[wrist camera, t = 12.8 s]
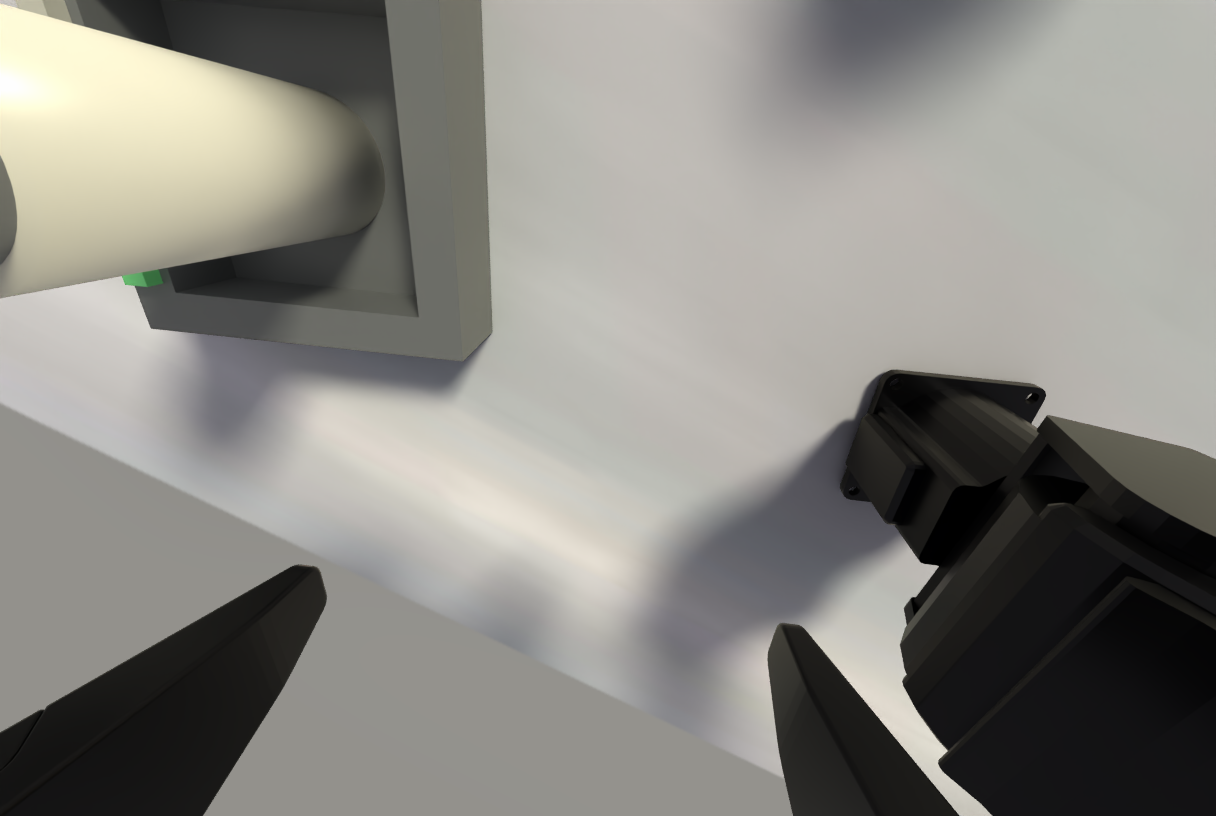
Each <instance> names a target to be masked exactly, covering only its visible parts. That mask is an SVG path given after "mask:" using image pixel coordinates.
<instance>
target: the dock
mask: <svg viewBox="0 0 1216 816" xmlns="http://www.w3.org/2000/svg"><path fill="white" fill-rule="evenodd" d="M15 1H16V4H17V6H18V9H22V10H25V11H29V12H33V13H36V14H40V15H44V16H47V17H51V18H55V19H58V20H62V21H66V22H69V23H73V24H77V25H80V26H84V27H88V28H91V29H95V30H99V31H102V32H106V33H110V34H113V35H117V36H121V37H124V38H128V39H132V40H135V41H139V42H143V43H146V44H150V45H154V46H157V47H161V48H165V49H168V50H172V51H176V52H179V53H183V54H187V55H190V56H194V57H198V58H201V59H205V60H209V61H212V62H216V63H220V64H223V65H227V66H231V67H234V68H238V69H242V70H245V71H249V72H253V73H256V74H260V75H264V76H267V77H271V78H275V79H278V80H282V81H286V82H289V83H293V84H297V85H300V86H304V87H308V88H311V89H315V90H319V91H321V92H324V93H327V94H329V95H331V96H333V97H335V98H337V99H338V100H340V101H341V102H343V103H344V104H346V105H347V106H348V107H349V108H350V109H351V110H353V111H354V112H355V113H356V114H357V115H358V117H359V118H360V119H361V120H362V121H363V123H364V124H365V125H366V126H367V128H368V129H369V131H370V133H371V134H372V136H373V138H374V140H375V142H376V144H377V146H378V149H379V151H380V154H381V157H382V161H383V165H384V172H385V191H384V197H383V201H382V204H381V207H380V209H379V211H378V213H377V215H376V216H375V217H374V219H373V220H372V221H371V222H370V223H369V224H368V225H367V226H366V227H364V228H363V229H361V230H359V231H357V232H355V233H352V234H348V235H343V236H337V237H332V238H326V239H321V240H315V241H310V242H304V243H299V244H294V245H288V246H283V247H277V248H272V249H266V250H261V251H255V252H250V253H244V254H239V255H234V256H228V257H223V258H217V259H212V260H206V261H201V262H195V263H190V264H184V265H179V266H174V267H168V268H163V269H157V270H152V271H146V272H141V273H135V274H130V275H124V276H122V278H123V280H124V283H125V285H133V286H135V288H136V290H137V293H138V296H139V298H140V301H141V304H142V306H143V309H144V312H145V314H146V317H147V319H148V322H149V325H150V327H151V329H160V330H170V331H179V332H189V333H198V334H208V335H217V336H227V337H236V338H245V339H255V340H264V341H274V342H283V343H293V344H302V345H312V346H321V347H331V348H340V349H349V350H359V351H368V352H378V353H387V354H397V355H406V356H416V357H425V358H435V359H444V360H453V361H464V360H465V359H466V358H467V357H468V356H469V355H470V354H471V353H472V352H473V351H474V350H475V349H476V348H477V347H478V346H479V345H480V344H481V343H482V342H483V341H484V340H485V339H486V338H487V337H488V336H489V335H490V334H491V333H492V308H491V279H490V249H489V220H488V190H487V160H486V131H485V101H484V72H483V42H482V12H481V0H15Z"/></svg>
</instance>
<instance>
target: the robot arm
mask: <svg viewBox="0 0 1216 816" xmlns="http://www.w3.org/2000/svg"><path fill="white" fill-rule="evenodd" d="M895 379H898V382H897V384H895V385H894V386H890V383H891V382H892V381H893V380H895ZM1031 393H1032V395H1031V396H1030V397H1029V398H1028V399H1026V400H1025V398H1026V397H1027V396H1028V395H1029V394H1031ZM1045 397H1046V393H1045V391H1044V390H1043V389H1042V388H1040V387H1038V386H1036V385H1034V384H1030V383H1021V382H1011V381H1001V380H991V379H982V378H972V377H962V376H953V375H943V374H933V373H923V372H914V371H904V370H890V371H888V372H886V373H885V374H884V375H882V377H881V379H880V381H879V384H878V386H877V389H876V392H875V394H874V397H873V400H872V402H871V405H870V408H869V410H868V413H867V414H866V415H865V416H864V417H863V418H862V420H861V423H860V425H859V428H858V431H857V433H856V436H855V439H854V441H853V444H852V447H851V449H850V452H849V455H848V457H847V460H846V466H847V469H846V471H845V474H844V477H843V479H842V482H841V484H840V490H841V492H842V493H843V495H844V496H845V497H846V498H847V499H850V500H858V501H867V502H872V504H873V505H874V507H875V508H876V510H877V511H878V513H879V514H880V516H881V517H882V519H883V520H884V521H885V523H887V524H890V525H895V527H896V528H897V529H898V531H899V532H900V534H901V535H902V537H903V538H904V539H905V541H906V542H907V544H908V545H909V547H910V548H911V549H912V551H913V552H914V554H915V555H916V557H917V558H918V559H919V561H920V562H921V563H924V564H931V565H937V566H939V567H938V569H937V570H936V571H935V573H934V574H933V575H932V577H931V578H930V579H929V581H928V582H927V583H926V585H925V586H924V587H923V589H922V590H921V591H920V593H919V594H918V595H917V597H912V598H911V599H910V600H909V602H908V603H907V604H906V606H905V607H904V612H905V617H906V623H907V626H906V628H905V630H904V634H903V637H902V640H901V643H900V647H901V652H902V658H903V663H904V668H905V671H906V674H907V675H906V676H905V677H904V678H903V681H902V682H903V686H904V688H905V690H906V691H907V693H908V695H909V697H910V699H911V701H912V703H913V705H914V706H915V708H916V710H917V712H918V713H919V715H920V716H921V718H922V719H923V720H924V722H925V723H926V724H927V726H928V727H929V729H930V730H931V731H932V733H933V734H934V735H935V737H936V738H937V739H938V741H939V742H940V743H941V744H942V745H943V746H944V747H945V748H946V749H947V750H948V752H947V753H945V754H944V755H943V756H942V757H941V758H940V759H939V760H938V764H939V766H940V768H941V770H942V771H943V772H944V773H945V774H946V775H947V776H949V777H950V778H951V779H952V780H953V781H955V782H956V783H957V784H958V785H959V786H960V787H962V788H963V789H964V790H965V791H966V792H968V793H969V794H970V795H971V796H972V797H974V798H975V799H976V800H977V801H978V802H980V803H981V804H982V805H983V806H984V807H985V808H986V809H987V811H988V812H989V813H990V814H991V815H992V816H1216V459H1214V458H1211V457H1209V456H1207V455H1205V454H1202V453H1200V452H1198V451H1195V450H1192V449H1189V448H1186V447H1182V446H1178V445H1173V444H1169V443H1165V442H1161V441H1156V440H1152V439H1148V438H1144V437H1139V436H1135V435H1131V434H1127V433H1122V432H1118V431H1114V430H1110V429H1105V428H1101V427H1097V426H1093V425H1089V424H1084V423H1080V422H1076V421H1072V420H1067V419H1063V418H1059V417H1055V416H1050V415H1047V416H1046V418H1045V419H1044V420H1043V422H1042V423H1041V424H1040V426H1039V427H1038V428H1036V427H1035V426H1033V425H1032V424H1031V423H1032V421H1033V419H1034V418H1035V416H1036V414H1037V412H1038V411H1039V409H1040V407H1041V405H1042V404H1043V402H1044V400H1045ZM852 487H856V488H855V489H854V490H849V489H850V488H852ZM326 600H327V595H326V590H325V587H324V583H323V579H322V576H321V572H320V570H319V569H318V568H317V567H315V566H309V565H294V566H292V567H290V568H288V569H286V570H284V571H283V572H281V573H279V574H278V575H276V576H274V577H272V578H270V579H269V580H267V581H265V582H263V583H262V584H260V585H258V586H256V587H255V588H253V589H251V590H249V591H248V592H246V593H244V594H242V595H241V596H239V597H237V598H235V599H234V600H232V601H230V602H229V603H227V604H225V605H223V606H221V607H220V608H218V609H216V610H214V611H213V612H211V613H209V614H207V615H206V616H204V617H202V618H201V619H199V620H197V621H195V622H193V623H192V624H190V625H188V626H186V627H185V628H183V629H181V630H179V631H178V632H176V633H174V634H172V635H171V636H169V637H167V638H165V639H164V640H162V641H160V642H158V643H156V644H155V645H153V646H151V647H149V648H148V649H146V650H144V651H142V652H141V653H139V654H137V655H135V656H134V657H132V658H130V659H128V660H127V661H125V662H123V663H121V664H120V665H118V666H116V667H114V668H113V669H111V670H109V671H107V672H106V673H104V674H102V675H100V676H99V677H97V678H95V679H93V680H92V681H90V682H88V683H87V684H85V685H83V686H81V687H79V688H78V689H76V690H74V691H72V692H71V693H69V694H67V695H65V696H64V697H62V698H60V699H58V700H56V701H55V702H53V703H51V704H49V705H48V706H47V707H46V709H45V710H39V711H37V712H35V713H33V714H32V715H30V716H28V717H26V718H25V719H23V720H21V721H20V722H18V723H16V724H14V725H12V726H11V727H9V728H7V729H5V730H4V731H2V732H0V816H203V815H204V813H205V812H206V810H207V809H208V807H209V805H210V804H211V802H212V800H213V799H214V797H215V796H216V794H217V793H218V791H219V789H220V788H221V786H222V785H223V783H224V781H225V780H226V778H227V777H228V775H229V774H230V772H231V770H232V769H233V767H234V766H235V764H236V762H237V761H238V759H239V758H240V756H241V754H242V753H243V751H244V750H245V748H246V746H247V745H248V743H249V742H250V740H251V739H252V737H253V735H254V734H255V732H256V731H257V729H258V727H259V726H260V724H261V723H262V721H263V720H264V718H265V716H266V715H267V713H268V712H269V710H270V708H271V707H272V705H273V704H274V702H275V700H276V699H277V697H278V695H279V694H280V692H281V690H282V689H283V687H284V685H285V683H286V682H287V680H288V678H289V676H290V674H291V672H292V670H293V669H294V667H295V665H296V663H297V661H298V658H299V657H300V655H301V653H302V651H303V649H304V647H305V645H306V643H307V641H308V639H309V637H310V635H311V633H312V631H313V629H314V627H315V625H316V623H317V621H318V620H319V617H320V615H321V614H322V612H323V610H324V607H325V605H326ZM768 669H769V677H770V685H771V693H772V701H773V709H774V718H775V726H776V734H777V741H778V748H779V754H780V759H781V764H782V769H783V773H784V778H785V782H786V787H787V791H788V795H789V800H790V804H791V809H792V813H793V816H959V815H958V813H957V812H956V811H955V810H954V809H953V807H952V806H951V805H950V804H949V803H948V801H947V800H946V799H945V798H944V797H943V795H942V794H941V793H940V792H939V791H938V789H937V788H936V787H935V786H934V784H933V783H932V782H931V781H930V780H929V778H928V777H927V776H926V775H925V774H924V772H923V771H922V770H921V769H920V768H919V766H918V765H917V764H916V763H915V762H914V760H913V759H912V758H911V757H910V756H909V754H908V753H907V752H906V751H905V749H904V748H903V747H902V746H901V745H900V743H899V742H898V741H897V740H896V739H895V737H894V736H893V735H892V734H891V733H890V731H889V730H888V729H887V728H886V727H885V725H884V724H883V723H882V722H881V721H880V719H879V718H878V717H877V716H876V714H875V713H874V712H873V711H872V710H871V708H870V707H869V706H868V705H867V704H866V702H865V701H864V700H863V699H862V698H861V696H860V695H859V694H858V693H857V692H856V690H855V689H854V688H853V687H852V686H851V684H850V683H849V682H848V681H847V679H846V678H845V677H844V676H843V675H842V673H841V672H840V671H839V670H838V669H837V667H836V666H835V665H834V664H833V663H832V661H831V660H830V659H829V658H828V657H827V655H826V654H825V653H824V652H823V651H822V649H821V648H820V647H819V646H818V645H817V643H816V642H815V641H814V640H813V638H812V637H811V636H810V635H809V634H808V632H807V631H806V630H805V629H804V628H803V627H802V626H800V625H795V624H787V623H780V624H779V625H778V626H777V628H776V631H775V633H774V636H773V639H772V642H771V645H770V647H769V651H768Z"/></svg>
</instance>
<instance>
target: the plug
mask: <svg viewBox="0 0 1216 816" xmlns="http://www.w3.org/2000/svg"><path fill="white" fill-rule="evenodd" d="M384 191H385V172H384V165H383V161H382V157H381V154H380V151H379V149H378V146H377V144H376V142H375V140H374V138H373V136H372V134H371V133H370V131H369V129H368V128H367V126H366V125H365V124H364V123H363V121H362V120H361V119H360V118H359V117H358V115H357V114H356V113H355V112H354V111H353V110H351V109H350V108H349V107H348V106H347V105H346V104H344V103H343V102H341V101H340V100H338V99H337V98H335V97H333V96H331V95H329V94H327V93H324V92H321V91H319V90H315V89H311V88H308V87H304V86H300V85H297V84H293V83H289V82H286V81H282V80H278V79H275V78H271V77H267V76H264V75H260V74H256V73H253V72H249V71H245V70H242V69H238V68H234V67H231V66H227V65H223V64H220V63H216V62H212V61H209V60H205V59H201V58H198V57H194V56H190V55H187V54H183V53H179V52H176V51H172V50H168V49H165V48H161V47H157V46H154V45H150V44H146V43H143V42H139V41H135V40H132V39H128V38H124V37H121V36H117V35H113V34H110V33H106V32H102V31H99V30H95V29H91V28H88V27H84V26H80V25H77V24H73V23H69V22H66V21H62V20H58V19H55V18H51V17H47V16H44V15H40V14H36V13H33V12H29V11H25V10H22V9H18V8H14V7H11V6H7V5H3V4H0V298H4V297H10V296H15V295H21V294H26V293H32V292H37V291H43V290H48V289H53V288H59V287H64V286H70V285H75V284H81V283H86V282H92V281H97V280H103V279H108V278H113V277H119V276H124V275H130V274H135V273H141V272H146V271H152V270H157V269H163V268H168V267H174V266H179V265H184V264H190V263H195V262H201V261H206V260H212V259H217V258H223V257H228V256H234V255H239V254H244V253H250V252H255V251H261V250H266V249H272V248H277V247H283V246H288V245H294V244H299V243H304V242H310V241H315V240H321V239H326V238H332V237H337V236H343V235H348V234H352V233H355V232H357V231H359V230H361V229H363V228H364V227H366V226H367V225H368V224H369V223H370V222H371V221H372V220H373V219H374V217H375V216H376V215H377V213H378V211H379V209H380V207H381V204H382V201H383V197H384Z"/></svg>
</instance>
